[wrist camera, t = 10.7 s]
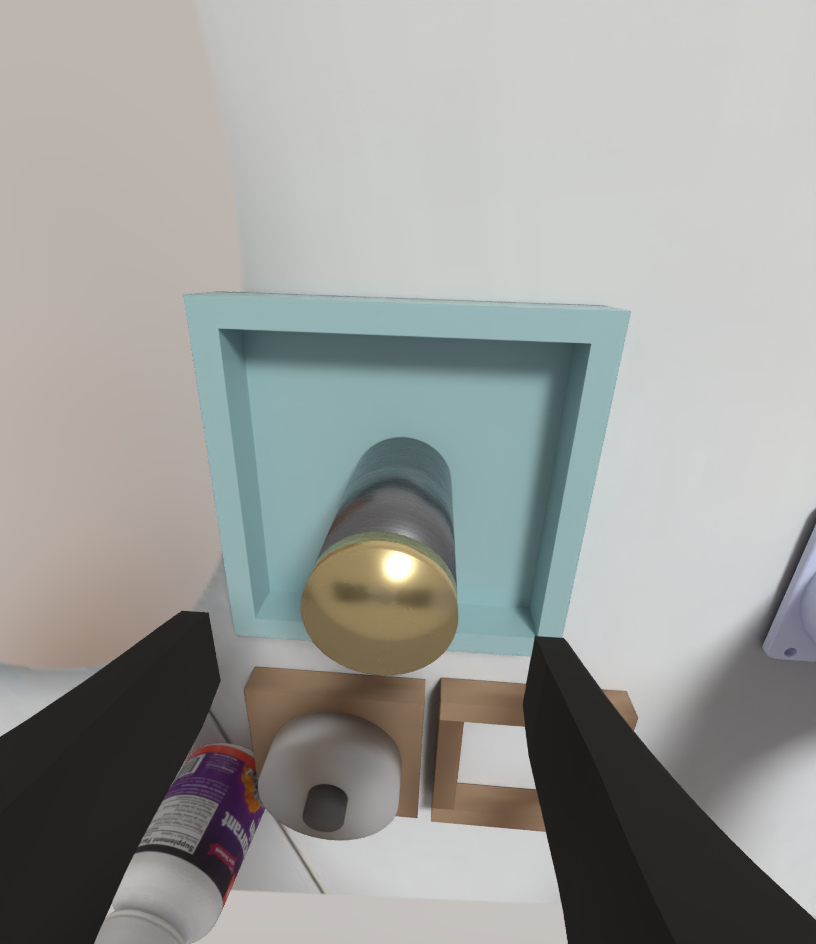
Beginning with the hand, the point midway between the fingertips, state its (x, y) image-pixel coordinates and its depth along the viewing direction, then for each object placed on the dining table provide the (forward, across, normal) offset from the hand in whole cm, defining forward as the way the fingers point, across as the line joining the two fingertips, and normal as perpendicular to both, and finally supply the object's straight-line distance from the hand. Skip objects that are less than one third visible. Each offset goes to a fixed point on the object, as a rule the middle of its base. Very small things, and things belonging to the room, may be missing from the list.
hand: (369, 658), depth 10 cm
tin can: (+10, 0, 0) cm, 10 cm away
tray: (+10, 0, 0) cm, 10 cm away
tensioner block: (+10, -2, +16) cm, 19 cm away
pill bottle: (+11, +10, +20) cm, 25 cm away
